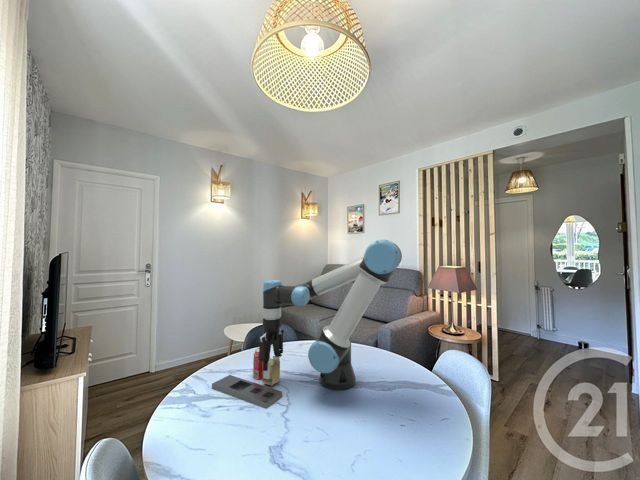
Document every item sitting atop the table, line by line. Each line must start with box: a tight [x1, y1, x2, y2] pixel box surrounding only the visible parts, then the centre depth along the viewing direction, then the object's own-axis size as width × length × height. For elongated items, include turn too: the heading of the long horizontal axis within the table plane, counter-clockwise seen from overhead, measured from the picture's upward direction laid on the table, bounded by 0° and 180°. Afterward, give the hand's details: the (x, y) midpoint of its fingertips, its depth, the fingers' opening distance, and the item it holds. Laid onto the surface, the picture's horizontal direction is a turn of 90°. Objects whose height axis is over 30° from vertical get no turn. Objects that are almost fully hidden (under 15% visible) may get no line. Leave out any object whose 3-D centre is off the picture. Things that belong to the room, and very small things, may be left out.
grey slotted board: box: [211, 374, 283, 410], centre depth 103 cm, size 28×9×3 cm, turn 61°
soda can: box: [252, 347, 271, 380], centre depth 117 cm, size 7×7×12 cm
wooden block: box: [261, 357, 281, 386], centre depth 110 cm, size 5×5×8 cm
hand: (271, 375), depth 110 cm, fingers open, 5 cm apart
